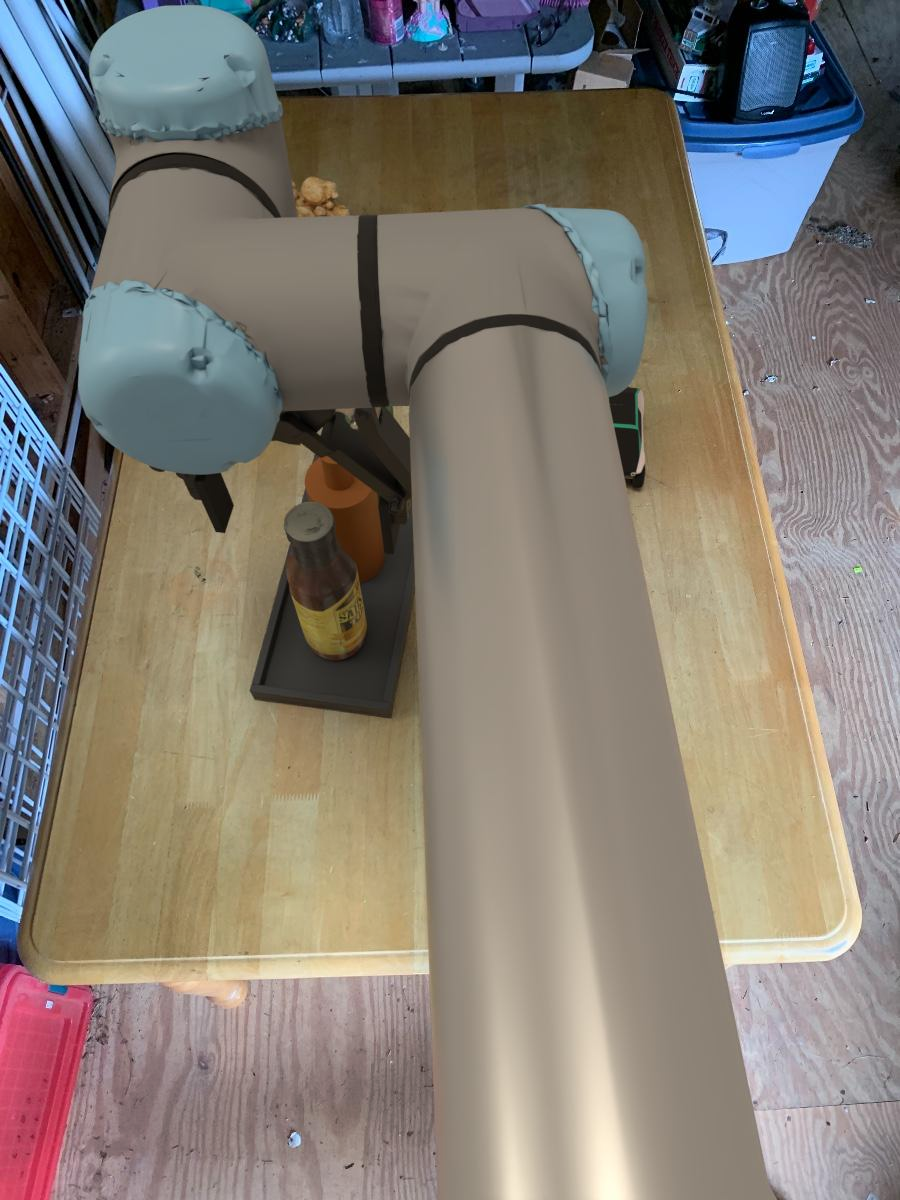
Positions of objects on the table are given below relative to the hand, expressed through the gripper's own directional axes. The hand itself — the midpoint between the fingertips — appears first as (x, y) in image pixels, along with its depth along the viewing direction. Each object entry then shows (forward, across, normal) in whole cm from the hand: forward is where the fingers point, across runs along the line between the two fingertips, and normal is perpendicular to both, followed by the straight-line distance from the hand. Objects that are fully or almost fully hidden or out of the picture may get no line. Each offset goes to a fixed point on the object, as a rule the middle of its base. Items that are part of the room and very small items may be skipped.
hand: (308, 529), depth 66 cm
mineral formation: (+20, +19, -58) cm, 65 cm away
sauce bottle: (+20, 0, 0) cm, 20 cm away
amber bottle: (+20, 0, -9) cm, 22 cm away
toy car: (+21, -26, -28) cm, 44 cm away
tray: (+20, 0, -8) cm, 22 cm away
